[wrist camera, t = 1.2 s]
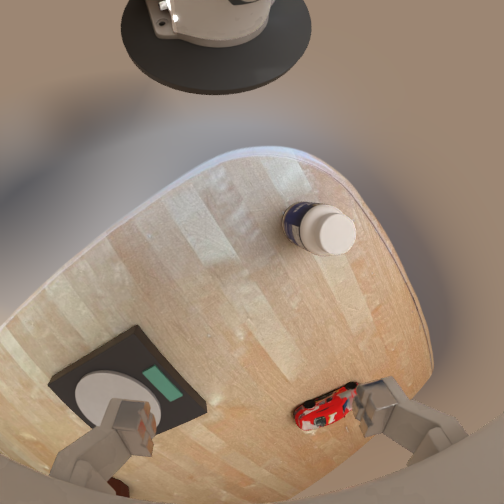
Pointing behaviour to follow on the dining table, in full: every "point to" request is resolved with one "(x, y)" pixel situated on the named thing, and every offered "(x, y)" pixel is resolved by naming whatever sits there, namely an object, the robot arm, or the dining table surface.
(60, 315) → the dining table surface
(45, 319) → the dining table surface
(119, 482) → the muffin
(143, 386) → the scale
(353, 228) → the pill bottle
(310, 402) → the race car
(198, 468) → the dining table surface
